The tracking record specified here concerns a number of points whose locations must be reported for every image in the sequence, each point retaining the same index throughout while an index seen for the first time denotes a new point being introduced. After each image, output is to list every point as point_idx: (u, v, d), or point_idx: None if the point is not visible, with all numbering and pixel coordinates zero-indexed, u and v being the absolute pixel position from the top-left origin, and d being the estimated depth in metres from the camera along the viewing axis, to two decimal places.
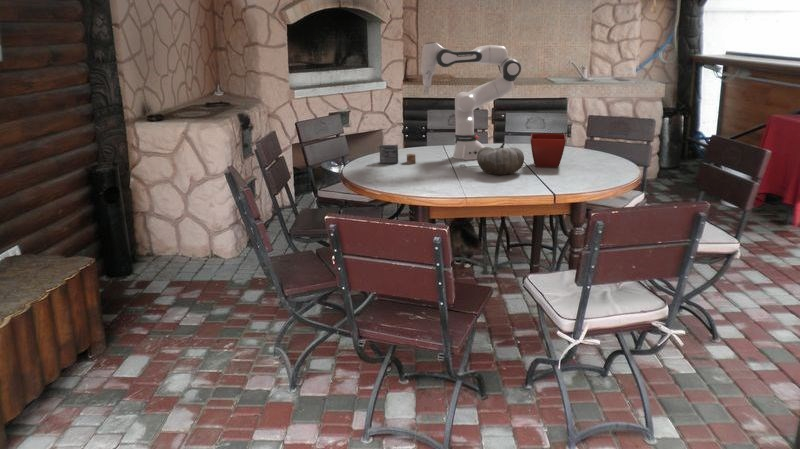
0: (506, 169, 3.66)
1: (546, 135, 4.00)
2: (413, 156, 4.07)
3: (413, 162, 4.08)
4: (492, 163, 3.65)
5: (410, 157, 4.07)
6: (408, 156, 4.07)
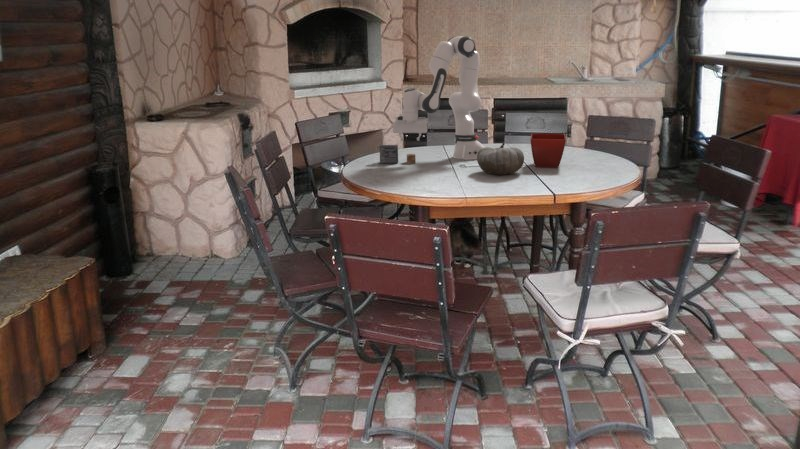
0: (506, 169, 3.66)
1: (546, 135, 4.00)
2: (413, 156, 4.07)
3: (413, 162, 4.08)
4: (492, 163, 3.65)
5: (410, 157, 4.07)
6: (408, 156, 4.07)
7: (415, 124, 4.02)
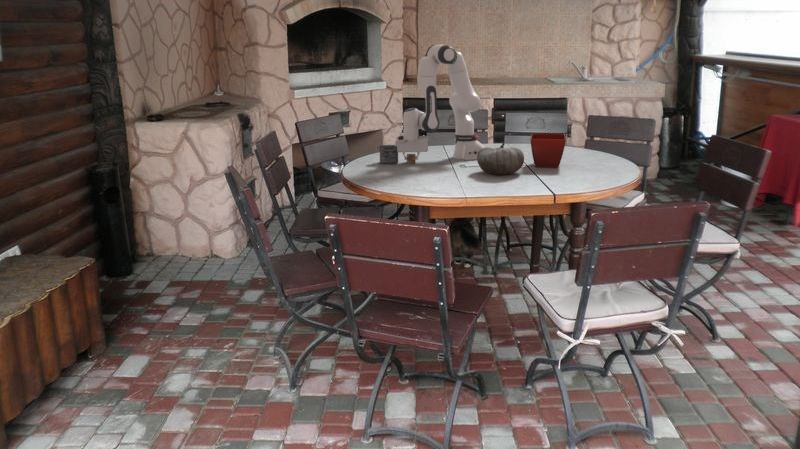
0: (506, 169, 3.66)
1: (546, 135, 4.00)
2: (413, 156, 4.07)
3: (413, 162, 4.08)
4: (492, 163, 3.65)
5: (410, 157, 4.07)
6: (408, 156, 4.06)
7: (416, 143, 4.05)
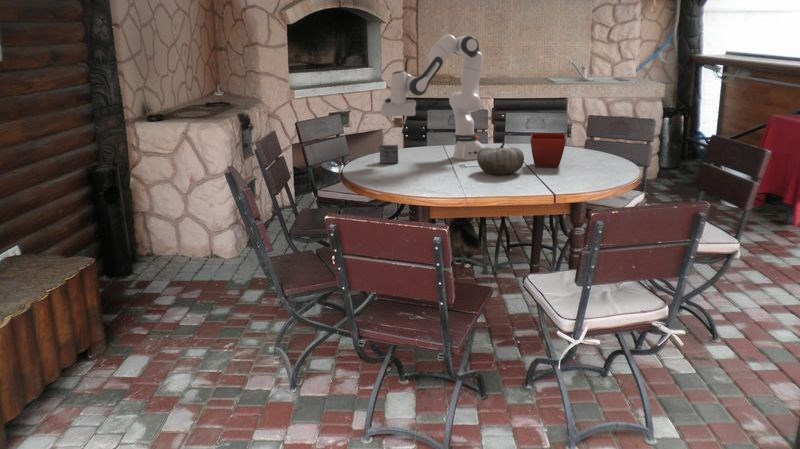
0: (506, 169, 3.66)
1: (546, 135, 4.00)
2: (400, 120, 4.01)
3: (400, 126, 4.02)
4: (492, 163, 3.65)
5: (397, 121, 4.01)
6: (395, 119, 4.01)
7: (403, 107, 4.00)
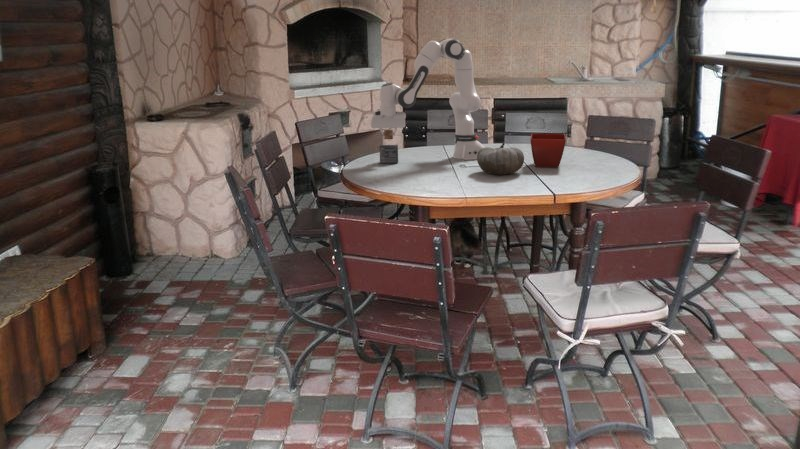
0: (506, 169, 3.66)
1: (546, 135, 4.00)
2: (390, 131, 4.03)
3: (390, 138, 4.04)
4: (492, 163, 3.65)
5: (387, 132, 4.03)
6: (385, 131, 4.03)
7: (393, 119, 4.02)
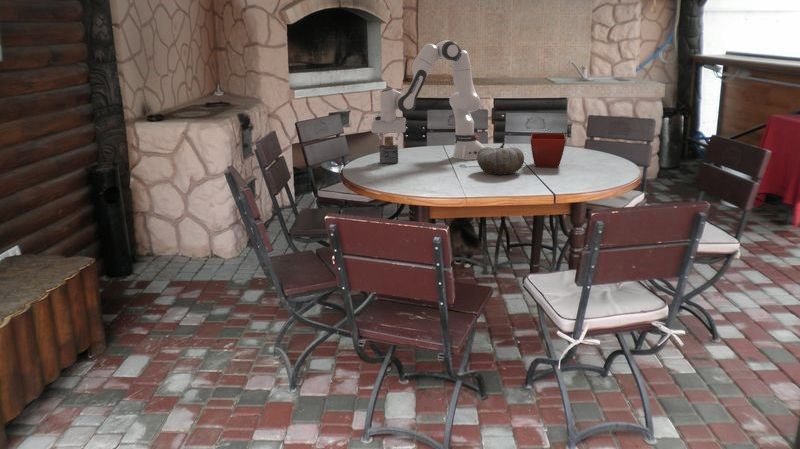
0: (506, 169, 3.66)
1: (546, 135, 4.00)
2: (391, 138, 4.04)
3: (391, 144, 4.05)
4: (492, 163, 3.65)
5: (388, 139, 4.05)
6: (386, 138, 4.04)
7: (393, 124, 4.03)
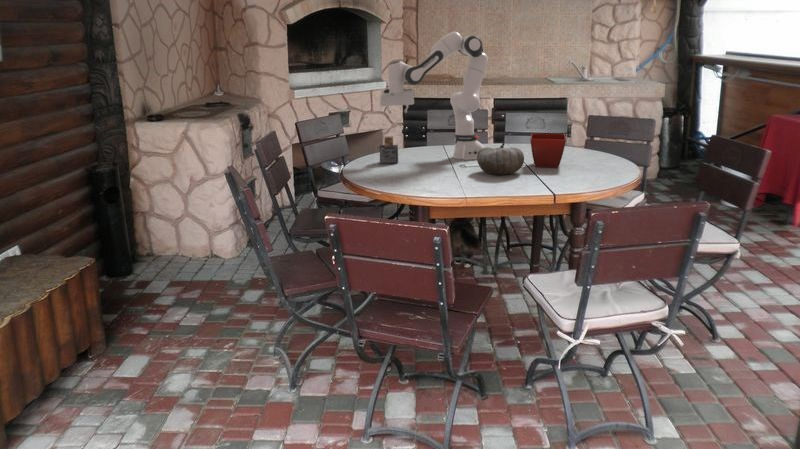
0: (506, 169, 3.66)
1: (546, 135, 4.00)
2: (391, 138, 4.04)
3: (391, 144, 4.05)
4: (492, 163, 3.65)
5: (388, 139, 4.05)
6: (385, 138, 4.04)
7: (402, 96, 4.07)
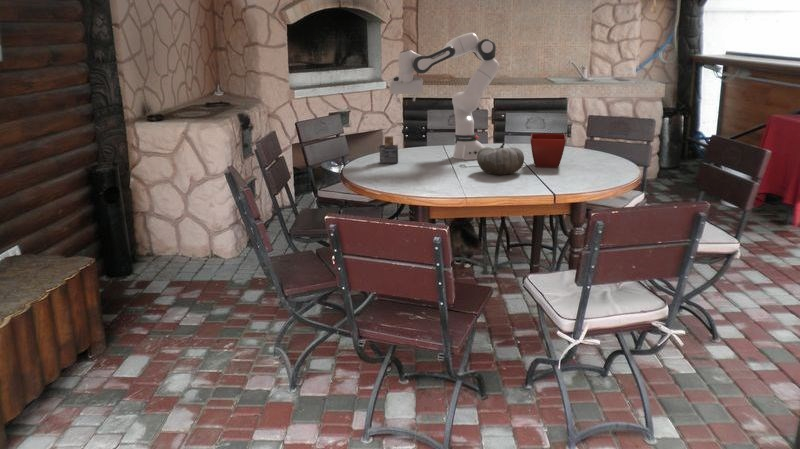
0: (506, 169, 3.66)
1: (546, 135, 4.00)
2: (391, 138, 4.04)
3: (391, 144, 4.05)
4: (492, 163, 3.65)
5: (388, 139, 4.05)
6: (386, 138, 4.04)
7: (411, 85, 4.15)
